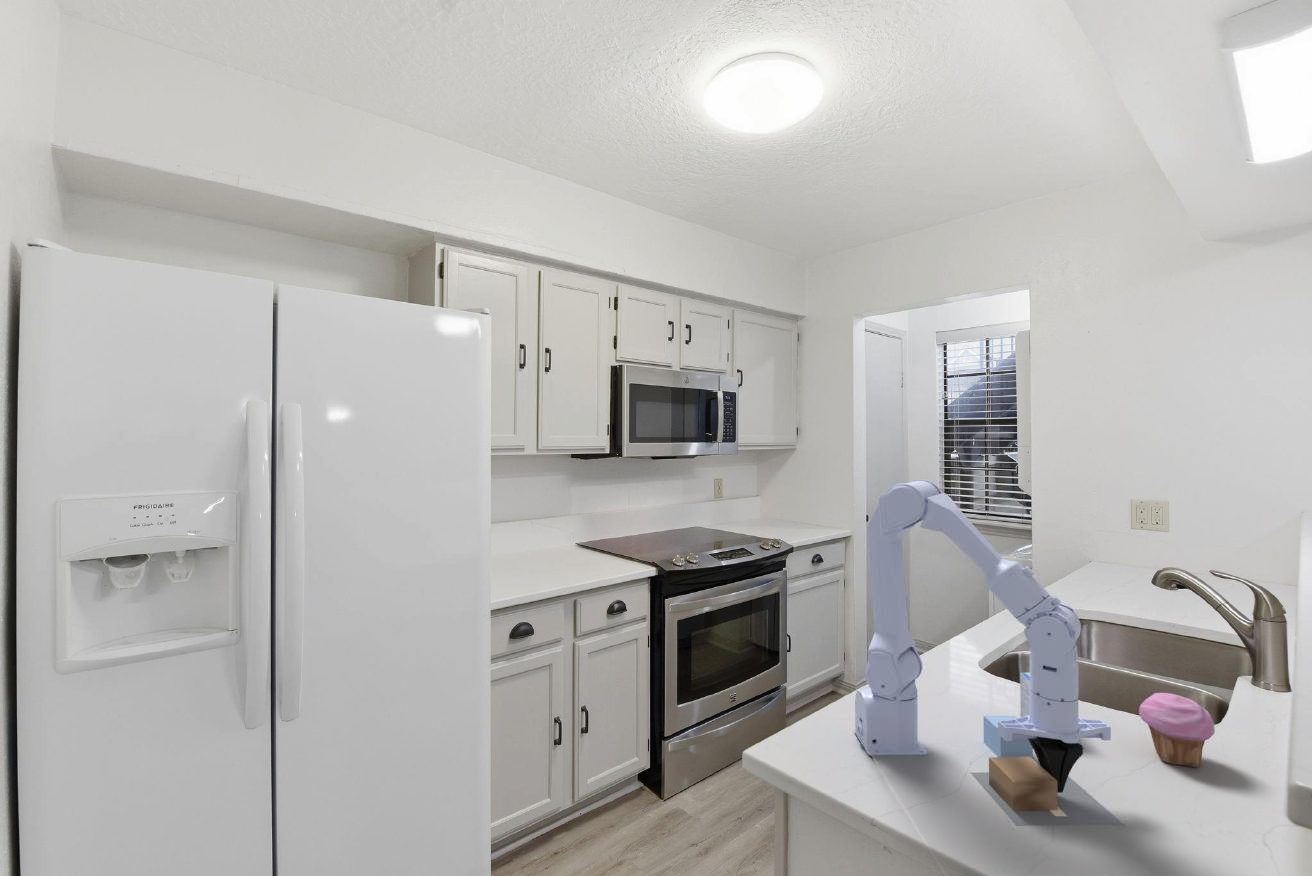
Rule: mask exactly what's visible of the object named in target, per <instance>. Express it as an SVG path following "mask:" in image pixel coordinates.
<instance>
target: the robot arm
mask: <svg viewBox="0 0 1312 876" xmlns="http://www.w3.org/2000/svg"><path fill="white" fill-rule="evenodd" d="M920 522H921V523H920ZM918 523H920V524H919V527H920V528H922V529H925V530H931V531H935V532H939V533H943V534H944V535H945V536H947V537H948V538H949V540H950V541H951V542H952V543H954V545H955V546H957V547H958V548H959V550H960V551H962V553H964V554H965V555H966V556H967V557H968V558H969V559H970V560H971V561H972V562H973V563H974V564H975V565H976V566H977V567H978V568H979V569H980V571H982V572H983V573H984V577H985V579H984V585H985V587H986V588H987V589H988V590H989V591H990V593H992V594H993V596H994V597H995V598H996V599H997V600H998V601H999V602H1000V603H1001V604H1002V605H1003V606H1004V607H1005V608H1006V610H1007V611H1008V612H1009V613H1010V614H1011V615H1012V616H1013V617H1014V618H1015V619H1016V621H1018V622H1019V623H1020V624H1022V625H1023V626H1024V627H1025V628H1024V629H1023V630H1024V636H1025V638H1026V640H1027V643H1029V645H1030V656H1029V672H1030V715H1028V716H1024V717H1021V716H1020V717H1016V719H1011V720H1005V721H998V734H999V735H1000V736H1001V737H1002V738H1003V739H1004V740H1005V741H1013V739H1018V738H1028V740H1029V742H1030V744H1031V746H1032V747H1033V753H1034V754H1035V755H1036V756H1035V757H1036V758H1037V761H1038V764H1039V765H1040V766H1041V767H1042V768H1043V769H1045V770H1046V771H1047V772H1048V773H1049V774H1050V775H1051V776H1052V777H1054V778H1055V779H1056V780H1057V791H1058V793H1063V790H1064V787H1065V784H1066V781H1067V778H1068V776H1069V775H1070V773H1071V770H1072V769H1073V767H1074V766H1075V764H1076V762H1077V761H1078V760H1079V759H1080V758H1081V757H1082V756H1083V755H1084V747H1083V746H1082V744H1080V739H1100V740H1102V741H1111V739H1112V737H1111V735H1112V734H1111V733H1112V732H1111V730H1112V729H1111V728H1112V727H1111V726H1110V725H1109V724H1107V723H1106V722H1104V721H1103V720H1101V719H1087V718H1080V717H1079V663H1078V657H1079V656H1078V654H1079V653H1078V647H1077V644H1076V643H1077V640H1078V638H1079V636H1080V635H1081V633H1082V632H1081V631H1082V624H1081V621H1080V619H1079V616H1078V615H1077V614H1076V613H1075V611H1074V609H1073V608H1072V607H1071V606H1069V605H1068V604H1066V603H1065V604H1064V603H1062V601H1061V600H1060V599H1059V598H1058V597H1057V596H1054V597H1053V596H1052V595H1051V594H1050V593H1049V592H1048V590H1046V589H1045V588H1044V587H1043V585H1041V584H1040V583H1039V582H1038V581H1037V580H1036V579H1035V578H1034V577H1033V575H1034V574H1035V572H1034V570H1033V569H1032V568H1030V566H1029V565H1027V566H1025V567H1024V566H1022V564H1020V562H1018V561H1015V560H1008V559H1004V558H1003V557H1002V556H1001V555H1000V554H999V552H998V551H997V550H996V549H995V548H994V546H992V544H991V543H990V542H989V541H988V540H987V539H986V537H984V535H983V534H982V533H981V532H980V530H978V528H976V527H975V525H974V524H973V523H972V521H971V520H970V519H969V518H968V517H967V516H966V515H965V514H964V513H963V511H961V509H960V508H959V507H958V505H956V503H955V501H953V499H952V498H951V497H950V496H949V495H948V494H946V493H945V492H942V490H941V489H940V486H938V485H937V484H936V483H935V482H933V481H931V480H928V479H916V480H913V481H912V482H907V483H897V484H894V485H893V486H891V487H890V488H888V489H887V490H886V491H885V492H883V493H882V494H881V495H879V497H878V504H877V505H876V507H875V510H874V512H873V513H872V516H871V518H870V520H869V521H868V524H867V528H866V532H867V533H866V534H867V545H868V547H867V548H868V557H869V572H870V574H869V575H870V585H871V586H870V587H871V599H872V601H871V602H872V613H873V614H872V616H873V628H874V632H873V633H874V634H873V636H872V639H871V641H870V643H869V647H868V650H867V651H868V657H867V658H868V660H867V663H866V664H865V666H864V671H863V672H864V678H865V682H866V684H867V685H868V687H867V688H865V689H860V690H859V689H858V690H857V691H856V692H855V697H854V704H855V705H854V706H855V709H854V711H855V714H854V715H855V717H854V718H855V719H854V720H855V724H854V725H855V728H854V730H853V731H854V735H855V736H856V737H857V738H858V740H859V741H860V743H861V745H862V747H863V748H864V750H865V751H866V753H867V755H868V756H871V757H873V756H915V755H918V756H920V755H921V756H923V755H924V756H926V755H928V754H929V752H928V751H927V749H926V748H925V747H924V746H923V744H922V743H921V742H920V741H919V736H918V735H919V733H918V732H919V731H918V730H919V727H918V723H919V722H918V719H919V717H918V711H919V710H918V688H917V685H916V680H917V679H918V678H919V677H920V676H921V674H922V671H923V661H922V659H921V656H920V655H919V653H918V651H917V648H916V642H915V641H916V640H915V637H914V636H913V635H912V634H911V633H910V631H909V621H908V619H909V618H908V607H907V594H906V579H905V567H904V555H903V554H904V553H903V539H902V538H903V536H905V535H906V534H907V533H908V532H909V531H910V530H911V529H913V528H914V526H916V524H918Z"/></svg>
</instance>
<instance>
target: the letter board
mask: <svg viewBox="0 0 1312 876" xmlns="http://www.w3.org/2000/svg"><path fill="white" fill-rule="evenodd" d="M970 774H971V776H972V777H974V779H975V780H976V781H977V782H978V784H979V785H980V786H981V787H982V788H983V790H985V792H987V794H988V795H989V796H990V797H991V799H992V800H993V801H994V802H995V803H996V804H997V805H998V806H999V807H1000V809H1002V811H1003V812H1004V813H1005V815H1007V817H1008V818H1009V819H1010V821H1012V822H1013V824H1014V825H1015V826H1018V827H1019V826H1020V827H1021V826H1022V827H1023V826H1026V827H1028V826H1125V824H1124V823H1123V822H1122V821H1121V820H1119V819H1118V818H1117V817H1116V816H1115V815H1114V814H1113V813H1111V811H1110V810H1108V809H1107V808H1106V807H1105V806H1103V805H1102V804H1101V803H1100V802H1099V801H1098V800H1097V799H1096V798H1094V797H1093V796H1092V795H1091V794H1090V793H1088V792H1087V790H1085V789H1084V788H1083V787H1082V786H1081V785H1079V784H1078V783H1077V782H1076V781H1075V780H1073V779H1072V778H1071V777H1070V776H1069V775H1068V778H1067V781H1066V784H1065V787H1064V790H1063V793H1058V810H1032V811H1013V810H1012V809H1011V808H1010V807H1009V806H1008V804H1007V803H1006V802H1005V801H1004V800H1003V799H1002V798H1001V797H1000V796H999V795H998V794H997V792H996V791H995V790H994V789H993V788H992V787H991V786H990V785H989V771H988V772H984V771H983V772H970Z"/></svg>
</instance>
